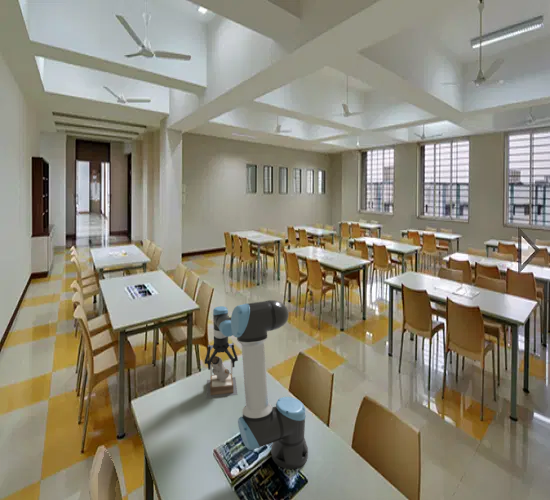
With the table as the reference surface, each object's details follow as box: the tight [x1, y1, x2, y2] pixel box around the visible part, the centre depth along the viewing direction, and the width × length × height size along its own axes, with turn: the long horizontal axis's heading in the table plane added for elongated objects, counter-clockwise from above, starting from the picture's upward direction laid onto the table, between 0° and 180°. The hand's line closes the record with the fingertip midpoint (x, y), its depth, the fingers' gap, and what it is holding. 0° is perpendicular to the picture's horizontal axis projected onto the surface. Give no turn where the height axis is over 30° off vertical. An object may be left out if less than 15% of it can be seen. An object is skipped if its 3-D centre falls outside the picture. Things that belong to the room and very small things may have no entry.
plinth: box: [209, 372, 234, 395], centre depth 169 cm, size 12×12×4 cm
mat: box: [206, 376, 238, 399], centre depth 170 cm, size 16×16×1 cm
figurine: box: [211, 355, 231, 382], centre depth 167 cm, size 9×10×15 cm
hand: (221, 373), depth 168 cm, fingers open, 10 cm apart
